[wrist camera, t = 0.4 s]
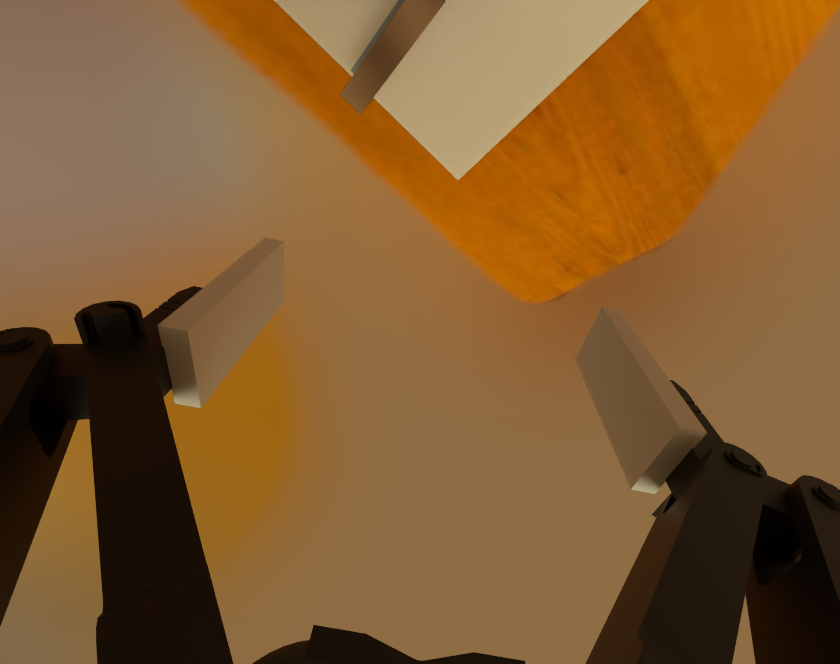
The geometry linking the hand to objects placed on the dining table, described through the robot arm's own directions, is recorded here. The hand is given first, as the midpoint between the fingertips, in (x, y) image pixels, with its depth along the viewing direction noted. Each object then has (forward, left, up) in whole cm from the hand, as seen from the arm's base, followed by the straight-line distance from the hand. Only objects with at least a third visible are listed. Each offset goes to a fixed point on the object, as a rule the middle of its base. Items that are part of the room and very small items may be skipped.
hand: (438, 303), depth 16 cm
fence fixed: (-2, -6, -25) cm, 26 cm away
